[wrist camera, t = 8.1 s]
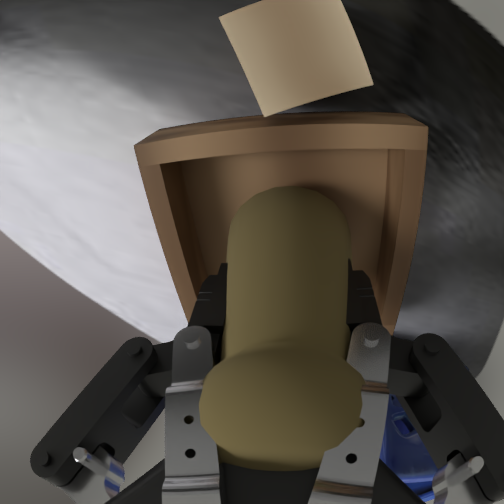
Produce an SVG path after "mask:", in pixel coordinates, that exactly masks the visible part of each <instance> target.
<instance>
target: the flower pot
mask: <svg viewBox="0 0 504 504" xmlns="http://www.w3.org/2000/svg"><path fill="white" fill-rule="evenodd" d="M465 367H466V366H465ZM466 368H467V367H466ZM467 369H468V368H467ZM468 370H469V369H468ZM379 458H380V459H381V460H382V461H383V462H384V463H385V464H386V465H387V466H388V467H389V468H390V469H391V470H392V471H393V472H394V473H395V474H396V475H397V476H398V477H399V478H400V479H401V480H402V481H403V482H404V483H405V484H406V485H407V486H408V487H409V488H410V489H411V490H412V491H413V492H414V493H415V494H416V495H418V496H419V497H420V498H421V499H422V500H423V501H424V502H426V501H429V500H432V499H434V498H435V496H434V491H433V488H432V480H433V477H434V475H435V473H436V471H437V470H438V469H437V467H436V465H435V463H434V461H433V460H432V458H431V456H430V454H429V452H428V451H427V449H426V447H425V445H424V444H423V442H422V440H421V438H420V437H419V435H418V433H417V431H416V430H415V428H414V426H413V424H412V423H411V421H410V419H409V418H408V416H407V414H406V412H405V411H404V409H403V407H402V406H401V404H400V402H399V401H398V399H397V397H396V395H393V394H389V400H388V408H387V415H386V422H385V429H384V435H383V441H382V447H381V452H380V457H379Z"/></svg>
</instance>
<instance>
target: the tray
mask: <svg viewBox="0 0 504 504" xmlns="http://www.w3.org/2000/svg"><path fill="white" fill-rule="evenodd" d="M427 142H428V126H426V125H424V124H423V123H421V122H419V121H417V120H415V119H413V118H412V117H410V116H408V115H406V114H404V113H389V112H352V111H339V112H301V113H283V114H272V115H269V116H266V117H264V115H257V116H247V117H237V118H229V119H221V120H213V121H206V122H199V123H193V124H186V125H180V126H175V127H169V128H164V129H159V130H158V131H156V132H154V133H153V134H151V135H150V136H148V137H146V138H145V139H143V140H142V141H140V142H138V143H137V144H135V145H134V149H135V153H136V157H137V161H138V165H139V169H140V173H141V177H142V180H143V184H144V188H145V191H146V195H147V199H148V202H149V206H150V209H151V213H152V216H153V219H154V223H155V226H156V229H157V233H158V236H159V239H160V242H161V245H162V249H163V252H164V255H165V258H166V261H167V264H168V267H169V270H170V273H171V276H172V279H173V282H174V285H175V288H176V291H177V293H178V296H179V299H180V302H181V305H182V307H183V310H184V313H185V316H186V318H187V321H188V323H189V320H190V317H191V314H192V311H193V308H194V306H195V303H196V301H197V297H198V294H199V291H200V288H201V285H202V283H203V282H204V281H205V279H206V278H207V277H208V276H209V275H217V274H218V271H219V268H220V265H221V263H226V259H227V245H228V235H229V230H230V224H231V221H232V219H233V217H234V216H235V214H236V213H237V211H238V209H239V208H240V206H241V205H243V204H244V203H245V202H246V201H248V200H249V199H250V198H251V197H253V196H254V195H255V194H257V193H260V192H263V191H265V190H268V189H271V188H274V187H284V186H299V187H303V188H307V189H311V190H315V191H317V192H319V193H321V194H322V195H324V196H325V197H327V198H329V199H330V200H332V201H333V202H334V203H335V204H336V205H337V206H338V208H339V209H340V210H341V211H342V213H343V214H344V215H345V217H346V220H347V223H348V226H349V229H350V232H351V248H352V269H353V270H363V271H364V272H365V273H366V274H367V275H368V277H369V278H370V280H371V284H372V289H373V291H374V296H375V298H376V302H377V306H378V310H379V314H380V318H381V322H382V325H383V327H385V328H386V329H387V330H388V331H389V333H390V335H393V332H394V329H395V325H396V322H397V318H398V315H399V311H400V307H401V304H402V300H403V296H404V292H405V288H406V283H407V279H408V275H409V270H410V266H411V261H412V256H413V251H414V246H415V240H416V235H417V229H418V223H419V217H420V210H421V203H422V195H423V187H424V178H425V168H426V157H427Z"/></svg>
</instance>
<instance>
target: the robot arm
mask: <svg viewBox="0 0 504 504" xmlns="http://www.w3.org/2000/svg"><path fill="white" fill-rule="evenodd" d="M227 269H228V263H221V265H220V268H219V271H218V274H217V275H209V276H208V277H207V278H206V279H205V281H204V282H203V283H202V285H201V288H200V291H199V294H198V297H197V301H196V303H195V306H194V308H193V311H192V314H191V317H190V320H189V323H188V326H187V327H186V328H184V329H182V330H181V331H179V332H178V333H177V334H176V336H175V338H174V340H173V341H170V342H167V343H162V344H157V345H152V343H151V342H150V341H149V340H148V339H146V338H144V337H135V338H132V339H130V340H128V341H126V342H125V343H124V344H123V345H122V346H121V347H120V349H119V350H118V351H117V352H116V353H115V354H114V355H113V356H112V357H111V359H110V360H109V361H108V362H107V363H106V364H105V365H104V367H103V368H102V369H101V370H100V371H99V372H98V373H97V375H96V376H95V377H94V378H93V379H92V380H91V381H90V383H89V384H88V385H87V386H86V387H85V388H84V390H83V391H82V392H81V393H80V394H79V395H78V397H77V398H76V399H75V400H74V401H73V402H72V404H71V405H70V406H69V407H68V408H67V409H66V411H65V412H64V413H63V414H62V415H61V417H60V418H59V419H58V420H57V421H56V423H55V424H54V425H53V426H52V427H51V429H50V430H49V431H48V432H47V433H46V435H45V436H44V437H43V438H42V440H41V441H40V442H39V443H38V445H37V446H36V447H35V448H34V450H33V451H32V454H31V458H30V463H31V467H32V470H33V471H34V473H35V474H37V475H38V476H39V477H42V478H43V479H45V480H47V481H49V482H50V483H51V484H53V485H54V486H56V487H58V488H60V489H62V490H63V491H64V492H65V493H66V494H67V495H68V496H69V497H70V498H71V499H72V500H73V501H74V502H75V503H76V504H426V503H425V502H424V501H423V500H422V499H421V498H420V497H419V496H418V495H416V494H415V493H414V492H413V491H412V490H411V489H410V488H409V487H408V486H407V485H406V484H405V483H404V482H403V481H402V480H401V479H400V478H399V477H398V476H397V475H396V474H395V473H394V472H393V471H392V470H391V469H390V468H389V467H388V466H387V465H386V464H385V463H384V462H383V461H382V460H381V459H380V458H379V457H380V452H381V447H382V441H383V435H384V429H385V422H386V415H387V408H388V400H389V394H393V395H396V397H397V399H398V401H399V402H400V404H401V406H402V407H403V409H404V411H405V412H406V414H407V416H408V418H409V419H410V421H411V423H412V424H413V426H414V428H415V430H416V431H417V433H418V435H419V437H420V438H421V440H422V442H423V444H424V445H425V447H426V449H427V451H428V452H429V454H430V456H431V458H432V460H433V461H434V463H435V465H436V467H437V469H438V470H437V471H436V473H435V475H434V477H433V480H432V488H433V491H434V496H435V498H434V504H493V503H495V502H498V501H500V500H502V499H504V420H503V419H502V417H501V416H500V414H499V413H498V411H497V410H496V408H495V407H494V405H493V404H492V402H491V401H490V399H489V398H488V397H487V396H486V394H485V392H484V391H483V390H482V388H481V387H480V385H479V384H478V383H477V381H476V380H475V379H474V377H473V376H472V375H471V373H470V372H469V370H468V369H467V368H466V367H465V365H464V364H463V363H462V361H461V360H460V359H459V357H458V356H457V355H456V354H455V352H454V351H453V350H452V348H451V347H450V346H449V345H448V343H447V342H446V341H445V340H444V339H443V338H442V337H440V336H438V335H436V334H431V333H426V334H422V335H420V336H418V337H417V338H416V339H415V341H409V340H403V339H399V338H396V337H394V336H392V335H390V333H389V331H388V330H387V329H386V328H385V327H383V325H382V322H381V318H380V314H379V310H378V306H377V302H376V298H375V296H374V291H373V289H372V284H371V280H370V278H369V277H368V275H367V274H366V273H365V272H364V271H363V270H353V269H352V265H351V261H350V258H348V293H347V314H346V324H347V325H348V326H349V329H350V332H351V333H350V346H349V352H348V357H347V362H348V363H349V364H350V365H351V366H352V367H353V368H355V369H356V370H357V371H358V372H359V373H360V374H361V375H362V377H363V378H364V381H365V383H366V385H362V387H361V396H362V404H363V405H362V410H361V414H360V419H361V420H362V422H363V427H360V428H358V427H357V428H356V429H355V430H354V431H353V432H352V433H351V434H350V435H349V436H348V437H347V438H346V439H345V440H344V441H343V442H342V443H341V444H340V445H339V446H337V447H335V448H332V449H330V450H327V451H325V452H324V455H323V459H322V462H321V465H320V467H318V468H313V469H307V470H298V471H266V470H256V469H249V468H245V467H240V466H236V465H232V464H228V463H224V462H222V459H221V457H220V454H219V451H218V448H217V444H216V443H215V441H214V440H213V439H212V438H211V437H210V435H209V434H208V433H207V432H206V430H205V429H204V428H203V427H202V426H201V422H200V412H199V401H200V397H201V393H202V389H203V383H202V381H203V380H204V378H205V376H206V375H207V374H208V373H209V372H210V371H211V370H212V369H213V367H214V366H216V365H217V364H218V363H220V354H221V340H222V335H223V330H224V323H225V317H226V304H227ZM164 408H165V458H164V459H163V460H162V461H160V462H159V463H158V464H157V465H155V466H154V467H153V468H152V469H150V470H149V471H148V472H146V473H145V474H144V475H143V476H141V477H140V478H139V479H137V480H136V481H135V482H134V483H132V484H131V485H129V486H128V487H127V488H125V489H124V490H122V491H121V492H120V493H119V488H120V485H121V484H122V483H123V482H124V480H125V477H124V474H125V473H124V467H123V463H124V462H125V461H126V460H127V458H128V457H129V456H130V454H131V453H132V452H133V450H134V449H135V447H136V446H137V445H138V443H139V442H140V441H141V439H142V438H143V437H144V435H145V434H146V433H147V431H148V430H149V428H150V427H151V426H152V424H153V423H154V422H155V420H156V419H157V418H158V416H159V415H160V414H161V412H162V411H163V409H164ZM192 422H193V423H192Z"/></svg>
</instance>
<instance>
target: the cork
mask: <svg viewBox="0 0 504 504" xmlns="http://www.w3.org/2000/svg"><path fill="white" fill-rule="evenodd" d="M348 258H350V261H351V265H352V248H351V232H350V229H349V226H348V223H347V220H346V217H345V215H344V214H343V213H342V211H341V210H340V209H339V208H338V206H337V205H336V204H335V203H334V202H333V201H332V200H330V199H329V198H327V197H325V196H324V195H322V194H321V193H319V192H317V191H315V190H311V189H307V188H303V187H299V186H284V187H274V188H271V189H268V190H265V191H263V192H260V193H257V194H255V195H254V196H253V197H251V198H250V199H249V200H248V201H246V202H245V203H244V204H243V205H241V206H240V208H239V209H238V211H237V213H236V214H235V216H234V217H233V219H232V221H231V224H230V230H229V235H228V245H227V259H226V263H228V269H227V304H226V317H225V323H224V330H223V335H222V340H221V354H220V363H218V364H217V365H216V366H214V367H213V369H212V370H211V371H210V372H209V373H208V374H207V375H206V376H205V378H204V380H203V381H202V383H203V389H202V393H201V397H200V401H199V412H200V422H201V426H202V427H203V428H204V429H205V430H206V432H207V433H208V434H209V435H210V437H211V438H212V439H213V440H214V441H215V443H216V444H217V448H218V451H219V454H220V457H221V459H222V462H224V463H228V464H232V465H236V466H240V467H245V468H249V469H256V470H266V471H298V470H307V469H313V468H318V467H320V465H321V462H322V459H323V455H324V452H325V451H327V450H330V449H332V448H335V447H337V446H339V445H340V444H341V443H342V442H343V441H344V440H345V439H346V438H347V437H348V436H349V435H350V434H351V433H352V432H353V431H354V430H355V429H356V428H357V427H358V428H360V427H363V422H362V420H361V419H360V414H361V410H362V405H363V404H362V396H361V387H362V385H366V383H365V381H364V378H363V377H362V375H361V374H360V373H359V372H358V371H357V370H356V369H355V368H353V367H352V366H351V365H350V364H349V363H348V362H347V357H348V352H349V346H350V333H351V332H350V329H349V326H348V325H347V324H346V314H347V293H348ZM192 423H193V422H192Z"/></svg>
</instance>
